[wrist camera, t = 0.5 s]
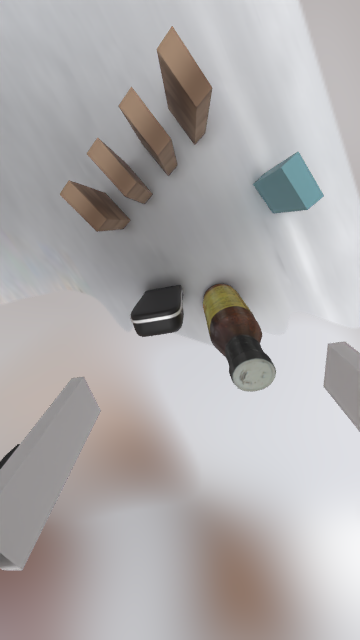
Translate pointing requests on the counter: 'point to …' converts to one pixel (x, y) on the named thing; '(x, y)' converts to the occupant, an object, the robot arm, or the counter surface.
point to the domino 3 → (94, 207)
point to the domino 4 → (184, 86)
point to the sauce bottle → (237, 338)
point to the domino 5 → (289, 186)
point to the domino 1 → (149, 131)
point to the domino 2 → (119, 172)
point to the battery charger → (159, 311)
